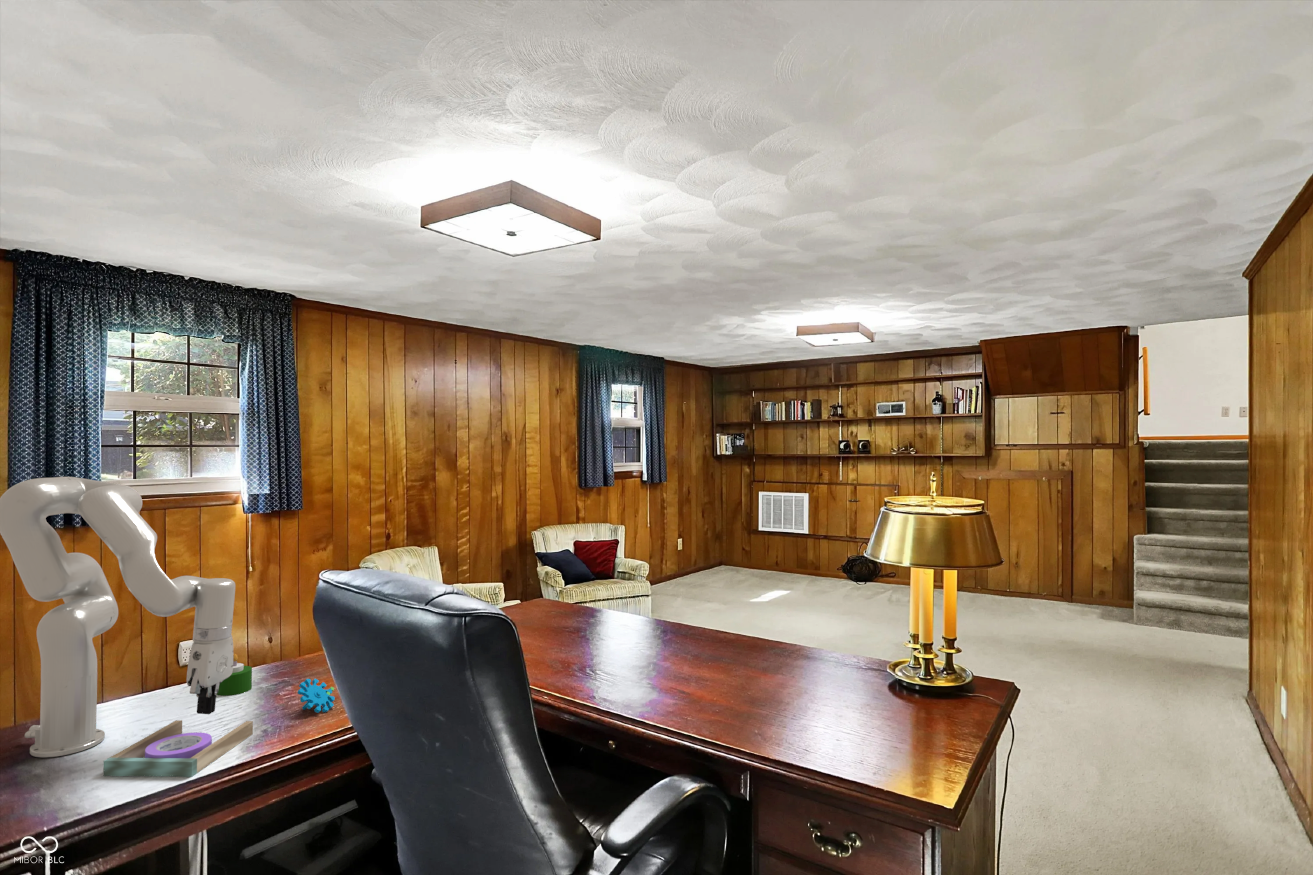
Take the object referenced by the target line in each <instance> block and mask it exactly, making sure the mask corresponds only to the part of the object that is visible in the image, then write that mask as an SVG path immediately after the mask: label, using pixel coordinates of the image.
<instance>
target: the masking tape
mask: <svg viewBox="0 0 1313 875" xmlns="http://www.w3.org/2000/svg"><path fill="white" fill-rule="evenodd" d="M212 738H213V737H212V735H211V734H209V733H207V732H202V731H201V732H184V733H182V734H178V735H174V736H170V737H166V738H163V739H160V740H158V741H155V742H153V743H152V744H150V745H149V746H147V747H146V749H145V756H144V758H191V757H193V756H194V755H196V754H197V753H199V752H200V751H202V750H203V749H205V748H206V747H208V746H209V745H211V744H212V743H213V741H212V740H213V739H212Z"/></svg>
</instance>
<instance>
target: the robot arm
mask: <svg viewBox="0 0 1313 875" xmlns="http://www.w3.org/2000/svg"><path fill="white" fill-rule="evenodd" d="M142 508H143V499H142V495H141V494H140V493H139V491H137V490H136V489H135V488H133V487H131V486H130V485H126V484H121V483H115V482H107V481H101V480H94V479H89V478H83V477H74V476H56V477H41V478H40V477H37V478H32V479H27V480H24V481H20V482H19V483H16V484H14V485H12V486H11V487H9V488H8V489H7V490H6V491H5V492H4V493H2V495H1V496H0V536H1V538H2V539H3V541H4V543H5V545H6V547H7V549H8V550H9V552H10V554H11V555H10V556H11V558H12V560H13V563H14V565H15V567H16V570H17V572H18V574H19V577H20V580H21V581H22V584H23V586H24V588H25V590H26V592H27V594H28V595H29V596H30V598H32V599H33V600H36V601H38V602H43V603H44V602H46V603H47V602H52V601H57V600H59V599H62V600H63V602H64V603H62V604H60V605H58V606H55V607H54V608H52V609H50V610H49V611H47V613H45V614H44V615H43V616H42V618H40V621H39V622H38V624H37V627H36V639H37V640H36V641H37V645H38V650H39V656H40V709H39V710H40V712H39V714H40V715H39V717H40V718H39V724H33V725H31V726H30V727H29V729H28V730H27V731H26V732H25V733H24V738H25V739H33V738H34V743H33V744H32V745H31V746H30V747H29V754H30V755H31V756H32V757H36V758H55V757H60V756H61V757H62V756H67V755H72V754H76V753H79V752H82V751H85V750H88V749H90V748H93V747H95V746H97V745H99V744H100V743H101V742H102V741H104V740H105V736H106V735H105V733H106V732H105V731H104V730H103V729H99V728H97V707H98V706H97V702H98V657H97V656H98V654H97V651H96V648H95V646H94V642H93V638H95V637H98V636H99V635H101V634H104V633H105V632H107V631H109V630H110V629H111V628H112V627H113V626H114V625H115V623H116V622H117V620H118V617H119V606H118V602H117V601H116V598H115V596H114V594H113V591H112V588H111V586H110V585H109V582H108V580H107V577H106V575H105V573H104V570H103V568H102V566H101V565H100V564H99V563H98V561H97V560H96V559H95V558H94V557H92V556H90V555H89V554H87V553H83V552H69V553H68V552H67V551H66V548H65V547H64V545H63V543H62V540H61V538H60V535H59V533H57V531H56V530H55V529H54V528H53V526H52V525H50V524H49V522H47V519H46V518H47V517H49V516H54V515H55V516H56V515H60V514H74V515H75V514H76V515H80V516H81V517H82V518H83V520H84V521H85V522H86V523H87V524H88V525H89V527H90V528H91V529H92V530H93V531H94V532H95V534H96V535H97V537H99V538H100V539H101V541H102V542H104V544H105V545H106V546H107V547H108V548H109V550H110V551H111V552H112V553H113V554H114V556H116V558H117V560H118V565H119V570H120V573H121V576H122V579H123V581H124V583H125V586H126V587H127V588H128V589H127V590H128V591H129V592H130V593H131V594H132V596H134V597H135V599H136V600H137V601H138V602H139V603H140V605H142V607H143V608H145V609H146V610H147V611H148V612H149V613H151V614H152V615H155V616H157V617H163V618H165V617H167V618H168V617H172V616H175V615H177V614H178V613H179V614H180V613H181V612H182V611H184V610H188V609H191V608H195V610H194V620H193V621H194V622H193V631H192V632H193V633H192V645H191V649H190V652H189V653H190V654H189V657H188V662H187V670H186V684H187V686H188V687H189V694H192V695H196V697H197V703H196V704H197V705H196V713H197V714H200V715H201V714H202V715H211V714H212V713H214V712H215V711H216V702H217V701H216V700H217V693H218V689H219V685H220V683H221V682H222V681H223V680H224V679H226V678H228V677H229V676H230V675H231V674H232V672H233V655H234V640H233V635H232V633H233V632H232V630H233V621H234V620H233V619H234V611H235V610H234V608H235V597H236V596H235V595H236V582H235V581H234V580H233V579H231V578H224V577H222V578H221V577H220V578H219V577H215V578H205V577H200V576H199V577H198V576H195V575H181V576H178V577H175V578H172V579H170V577H168V575H167V574H166V573H165V572H164V571H163V569H162V568H161V566H160V564H159V563H158V561H157V559H156V554H155V552H156V551H155V549H156V545H157V541H158V534H157V533H156V532H155V530H154V529H153V528H152V527H151V526H150V524H149V523H148V522H147V521H146V520H145V519H144V518H143V517H142V515H140V511H141V509H142Z"/></svg>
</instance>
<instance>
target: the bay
mask: <svg viewBox="0 0 1313 875" xmlns="http://www.w3.org/2000/svg"><path fill="white" fill-rule="evenodd" d="M253 727H254V720H252V721H251V720H246V721H245V722H243V723H241V724H240V725H238V726H237V727H235V728H233V729H232V730H230V731H228V732H227V733H226V734H225V735H224V736H221V737H220V738H219V739H217V740H216V741H214V742H212V744H211V745H209V746H208V747H206V748H205V749H203V750H202V751H200V752H199V753H197V754H196V755H194V756H193V757H191V758H145V749H146V747H147V746H149V745H150V744H152V743H153V742H155V741H158V740H160V739H163V738H166V737H170V736H174V735H178V734H183V720H182V719H181V720H180V719H179V720H178V719H177V720H174V721H172V722H171V723H169V724H167V725H165V726H164V727H161V728H159V729H158V730H156V731H154V732H152V733H151V734H149V735H147V736H146V737H144V738H142V739H140V740H138V741H136V742H135V743H133V744H131V745H130V746H127V747H126V748H124V749H122V750H120V751H118V752H117V753H115V754H113V755H112V756H110V757H109V758H107V759H105V760H103V770H102V771H103V772H102V773H103V775H102V776H104V777H175V778H176V777H177V778H178V777H179V778H181V777H182V778H191V777H194V776H196V774H199V773H200V772H201V771H202V770H203V768H204V769H205V768H207V767H208V766H209V765H211V764H212V763H214V762H215V761H217V760H219V758H220V757H222V756H224V755H225V754H226V753H228V752H229V751H231V750H232V749H234V748H235V747H236V746H238V745H239V744H241V743H242V742H243V741H245V740H246V739H248V738H249V737H251V736H252V735H253V733H254V729H253ZM211 762H212V763H211ZM210 763H211V764H210ZM200 770H201V771H200Z"/></svg>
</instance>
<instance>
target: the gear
mask: <svg viewBox="0 0 1313 875" xmlns="http://www.w3.org/2000/svg"><path fill="white" fill-rule="evenodd" d="M319 682H320V681H319V679H317V678H314V679H313V680H312V679H310V678H306V679H305V680H304V681H302V682H300V684H298V687H299V689H298V690H297V694H298V695H301V697H300V698H299V700H300V703H304V702H306V703H305V704H304V705H302V706H301V709H302V711H305V710H306V709H308V710H311V709H312V708H313V706H316V707H315V708H314V709H313V711H314V713H318V714H319V713H320V712H321V711H322V713H327V712H328V711H329V710H330V709H332V708H333V707H334V706H335V705H334V703H333V702H335V698H336V697H335V696H333V695H331V694H333V691H334V690H335V687H333V686H330V687H329V688H328V689H325V688H326V687H327V683H326V682H324V681H323V682H321V683H320V685H317V684H318V683H319ZM311 683H312V684H311Z"/></svg>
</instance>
